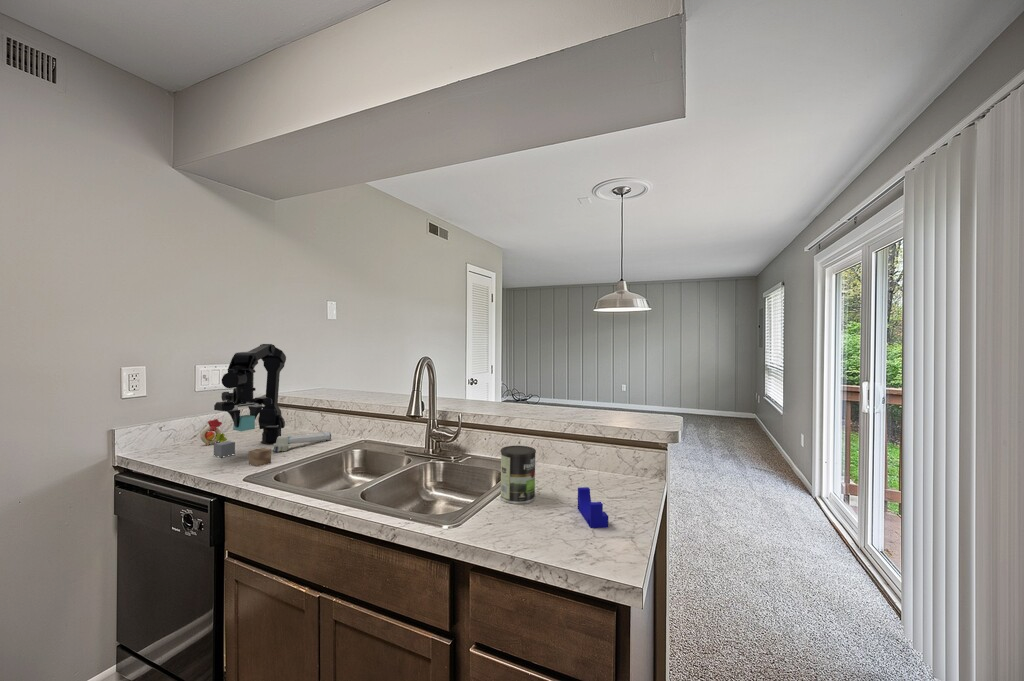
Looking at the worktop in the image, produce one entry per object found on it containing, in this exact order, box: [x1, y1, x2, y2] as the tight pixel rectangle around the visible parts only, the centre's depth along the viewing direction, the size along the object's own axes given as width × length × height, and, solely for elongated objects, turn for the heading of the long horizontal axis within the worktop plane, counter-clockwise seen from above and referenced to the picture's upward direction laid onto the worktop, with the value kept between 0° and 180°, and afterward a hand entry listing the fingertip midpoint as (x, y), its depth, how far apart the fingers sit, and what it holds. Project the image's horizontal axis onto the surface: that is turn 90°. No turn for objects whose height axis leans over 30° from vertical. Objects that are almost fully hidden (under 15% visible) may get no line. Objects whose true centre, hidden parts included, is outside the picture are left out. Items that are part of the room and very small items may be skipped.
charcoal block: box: [213, 440, 236, 457], centre depth 162 cm, size 5×5×5 cm
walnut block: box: [248, 447, 272, 467], centre depth 152 cm, size 5×5×5 cm
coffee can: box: [500, 445, 537, 505], centre depth 123 cm, size 10×10×14 cm
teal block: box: [232, 414, 256, 432], centre depth 160 cm, size 5×5×5 cm
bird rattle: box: [200, 418, 228, 446], centre depth 179 cm, size 6×11×9 cm
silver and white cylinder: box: [272, 431, 332, 453], centre depth 178 cm, size 5×7×25 cm
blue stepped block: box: [577, 486, 609, 529], centre depth 109 cm, size 12×4×6 cm, turn 6°
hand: (244, 426), depth 160 cm, fingers closed on teal block, 5 cm apart
